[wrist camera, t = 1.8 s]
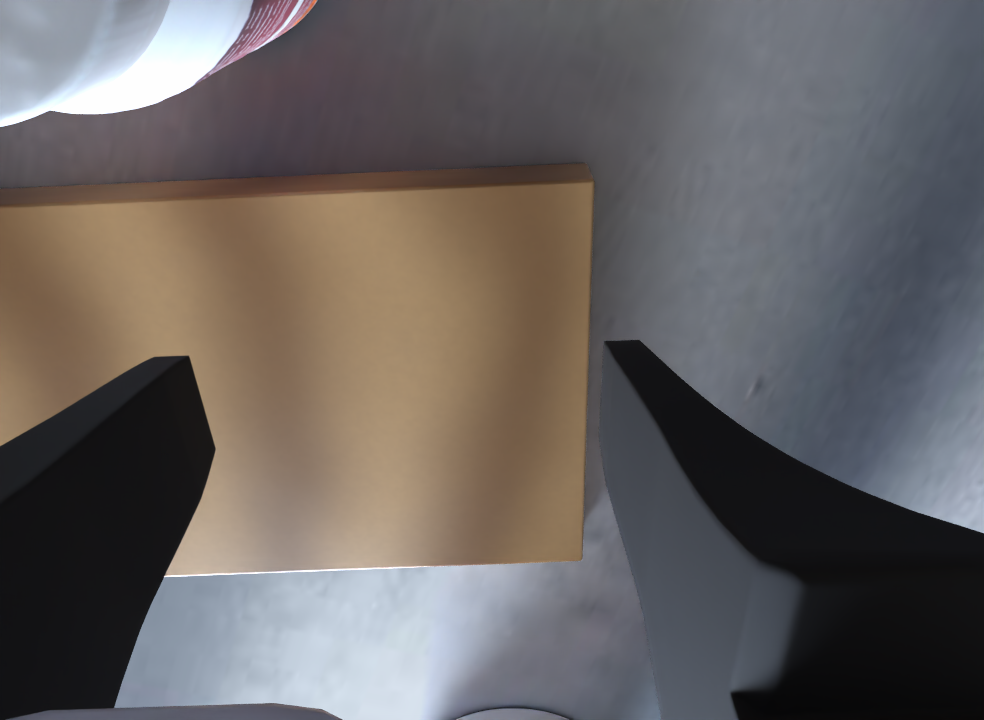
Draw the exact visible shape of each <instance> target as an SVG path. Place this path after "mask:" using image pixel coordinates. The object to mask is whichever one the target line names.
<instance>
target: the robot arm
mask: <svg viewBox="0 0 984 720" xmlns="http://www.w3.org/2000/svg"><path fill="white" fill-rule="evenodd" d="M599 442H600V449H601V456H602V462H603V469H604V475H605V481H606V486H607V490H608V493H609V497H610V500H611V504H612V507H613V510H614V514H615V517H616V521H617V524H618V527H619V531H620V534H621V538H622V541H623V544H624V548H625V551H626V554H627V558H628V561H629V565H630V568H631V571H632V575H633V578H634V581H635V585H636V588H637V592H638V596H639V600H640V604H641V609H642V613H643V618H644V624H645V629H646V635H647V640H648V646H649V651H650V657H651V662H652V668H653V674H654V680H655V686H656V692H657V698H658V704H659V710H660V716H661V720H984V533H981V532H978V531H975V530H971V529H968V528H965V527H962V526H959V525H956V524H952V523H949V522H946V521H943V520H940V519H937V518H933V517H930V516H927V515H924V514H921V513H917V512H915V511H912V510H909V509H906V508H904V507H901V506H899V505H896V504H894V503H891V502H888V501H886V500H883V499H881V498H878V497H876V496H873V495H870V494H868V493H866V492H863V491H861V490H859V489H856V488H854V487H852V486H849V485H847V484H845V483H843V482H840V481H838V480H836V479H834V478H832V477H830V476H828V475H826V474H824V473H822V472H820V471H818V470H816V469H814V468H812V467H810V466H808V465H806V464H804V463H802V462H800V461H798V460H797V459H795V458H793V457H791V456H789V455H787V454H786V453H784V452H782V451H781V450H779V449H777V448H776V447H774V446H772V445H771V444H769V443H767V442H766V441H764V440H762V439H761V438H759V437H758V436H756V435H754V434H753V433H751V432H750V431H748V430H747V429H745V428H744V427H742V426H741V425H740V424H738V423H737V422H736V421H734V420H733V419H731V418H730V417H729V416H727V415H726V414H725V413H723V412H722V411H721V410H719V409H718V408H716V407H715V406H714V405H713V404H711V403H710V402H709V401H708V400H706V399H705V398H704V397H703V396H701V395H700V394H699V393H698V392H697V391H695V390H694V389H693V388H692V387H691V386H689V385H688V384H687V383H686V382H685V381H684V380H683V379H681V378H680V377H679V376H678V375H677V374H676V373H675V372H674V371H672V370H671V369H670V368H669V367H668V366H667V365H666V364H665V363H664V362H663V361H662V360H661V359H659V358H658V357H657V356H656V355H655V354H654V353H653V352H652V351H651V350H650V349H649V348H648V347H647V346H645V345H644V344H643V343H642V342H641V341H640V340H622V341H604V346H603V365H602V384H601V403H600V422H599ZM215 451H216V448H215V444H214V441H213V437H212V434H211V430H210V427H209V423H208V420H207V416H206V413H205V409H204V406H203V402H202V399H201V395H200V392H199V388H198V385H197V381H196V378H195V374H194V371H193V367H192V364H191V360H190V357H189V355H188V356H159V357H153V358H150V359H148V360H146V361H144V362H142V363H140V364H138V365H136V366H135V367H133V368H131V369H129V370H128V371H126V372H124V373H123V374H121V375H119V376H118V377H116V378H114V379H113V380H111V381H109V382H108V383H106V384H104V385H103V386H101V387H100V388H98V389H96V390H95V391H93V392H91V393H90V394H88V395H87V396H85V397H83V398H82V399H80V400H78V401H77V402H75V403H74V404H72V405H70V406H69V407H67V408H65V409H64V410H62V411H61V412H59V413H57V414H56V415H54V416H52V417H50V418H49V419H47V420H45V421H43V422H42V423H40V424H38V425H36V426H35V427H33V428H31V429H29V430H28V431H26V432H24V433H22V434H21V435H19V436H17V437H15V438H14V439H12V440H10V441H8V442H7V443H5V444H3V445H1V446H0V720H342V719H340V718H338V717H336V716H334V715H332V714H330V713H328V712H326V711H324V710H322V709H315V708H307V707H300V706H292V705H284V704H276V703H265V704H233V705H202V706H170V707H139V708H114V706H115V703H116V699H117V696H118V693H119V690H120V687H121V684H122V680H123V678H124V675H125V672H126V669H127V666H128V663H129V660H130V658H131V655H132V652H133V649H134V646H135V643H136V640H137V637H138V635H139V632H140V629H141V627H142V624H143V622H144V619H145V617H146V615H147V612H148V610H149V608H150V605H151V603H152V601H153V599H154V597H155V595H156V593H157V591H158V589H159V587H160V584H161V582H162V580H163V578H164V576H165V574H166V572H167V570H168V568H169V566H170V564H171V562H172V560H173V558H174V555H175V553H176V551H177V549H178V547H179V545H180V543H181V541H182V539H183V537H184V535H185V533H186V530H187V528H188V526H189V524H190V522H191V520H192V518H193V516H194V513H195V511H196V509H197V507H198V505H199V502H200V500H201V498H202V495H203V492H204V489H205V486H206V482H207V479H208V476H209V473H210V469H211V465H212V462H213V458H214V455H215Z"/></svg>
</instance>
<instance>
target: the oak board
mask: <svg viewBox="0 0 984 720" xmlns="http://www.w3.org/2000/svg"><path fill="white" fill-rule="evenodd" d="M594 192H595V181H594V179H593V176H592V174H591V172H590V169H589V167H588V165H587V164H586V163H576V164H553V165H530V166H507V167H484V168H461V169H438V170H415V171H393V172H370V173H347V174H324V175H301V176H278V177H255V178H232V179H209V180H186V181H163V182H140V183H117V184H94V185H71V186H48V187H25V188H2V189H0V446H1V445H3V444H5V443H7V442H8V441H10V440H12V439H14V438H15V437H17V436H19V435H21V434H22V433H24V432H26V431H28V430H29V429H31V428H33V427H35V426H36V425H38V424H40V423H42V422H43V421H45V420H47V419H49V418H50V417H52V416H54V415H56V414H57V413H59V412H61V411H62V410H64V409H65V408H67V407H69V406H70V405H72V404H74V403H75V402H77V401H78V400H80V399H82V398H83V397H85V396H87V395H88V394H90V393H91V392H93V391H95V390H96V389H98V388H100V387H101V386H103V385H104V384H106V383H108V382H109V381H111V380H113V379H114V378H116V377H118V376H119V375H121V374H123V373H124V372H126V371H128V370H129V369H131V368H133V367H135V366H136V365H138V364H140V363H142V362H144V361H146V360H148V359H150V358H153V357H159V356H188V355H189V357H190V360H191V364H192V367H193V371H194V374H195V378H196V381H197V385H198V388H199V392H200V395H201V399H202V402H203V406H204V409H205V413H206V416H207V420H208V423H209V427H210V430H211V434H212V437H213V441H214V444H215V448H216V451H215V455H214V458H213V462H212V465H211V469H210V473H209V476H208V479H207V482H206V486H205V489H204V492H203V495H202V498H201V500H200V502H199V505H198V507H197V509H196V511H195V513H194V516H193V518H192V520H191V522H190V524H189V526H188V528H187V530H186V533H185V535H184V537H183V539H182V541H181V543H180V545H179V547H178V549H177V551H176V553H175V555H174V558H173V560H172V562H171V564H170V566H169V568H168V570H167V572H166V574H165V576H164V577H173V576H200V575H226V574H252V573H278V572H304V571H331V570H357V569H383V568H409V567H435V566H462V565H488V564H514V563H540V562H566V561H581V560H582V558H583V528H584V498H585V467H586V437H587V406H588V375H589V345H590V314H591V284H592V253H593V222H594Z"/></svg>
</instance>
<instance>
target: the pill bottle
mask: <svg viewBox="0 0 984 720" xmlns="http://www.w3.org/2000/svg"><path fill="white" fill-rule="evenodd" d="M317 1H318V0H0V127H3V126H7V125H11V124H15V123H18V122H21V121H24V120H27V119H30V118H33V117H35V116H38V115H40V114H42V113H45V112H47V111H50V110H52V111H58V112H65V113H73V114H105V113H114V112H120V111H126V110H132V109H137V108H141V107H145V106H148V105H151V104H155V103H158V102H160V101H162V100H164V99H166V98H168V97H171V96H173V95H176V94H178V93H180V92H182V91H184V90H186V89H188V88H190V87H192V86H193V85H195V84H197V83H198V82H200V81H201V80H203V79H205V78H207V77H208V76H209V75H211V74H212V73H214V72H216V71H218V70H220V69H221V68H223V67H225V66H227V65H228V64H230V63H232V62H234V61H236V60H238V59H240V58H242V57H243V56H245V55H246V54H248V53H250V52H252V51H254V50H256V49H258V48H260V47H262V46H263V45H265V44H266V43H269V42H270V41H272V40H274V39H276V38H277V37H279V36H281V35H282V34H284V33H285V32H287V31H288V30H289V29H291V28H292V27H293V26H295V25H296V24H297V23H298V22H300V21H301V20H302V19H303V18H304V17H305V16H306V15H307V14H308V13H309V12H310V10H311V9H312V8H313V6H314V5H315V4H316V2H317Z"/></svg>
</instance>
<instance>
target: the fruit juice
mask: <svg viewBox="0 0 984 720" xmlns="http://www.w3.org/2000/svg"><path fill="white" fill-rule="evenodd" d="M456 720H569V719H566V718H564V717H561V716H559V715H556V714H552V713H549V712H544V711H539V710H533V709H522V708H504V709H493V710H486V711H481V712H477V713H473V714H469V715H466V716H463V717H461V718H458V719H456Z"/></svg>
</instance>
